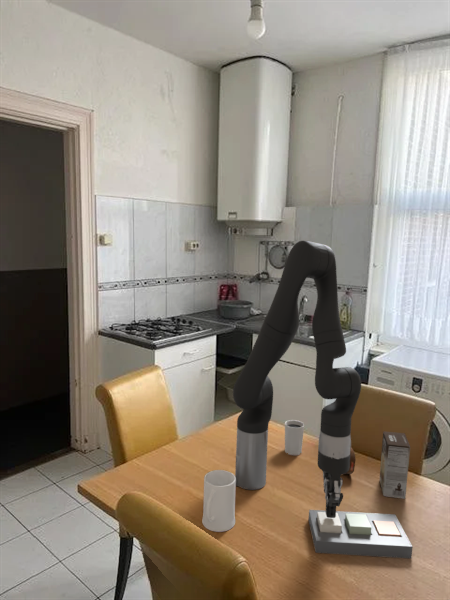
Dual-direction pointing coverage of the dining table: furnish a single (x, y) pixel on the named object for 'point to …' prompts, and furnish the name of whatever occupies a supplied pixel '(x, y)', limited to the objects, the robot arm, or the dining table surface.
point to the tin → (351, 462)
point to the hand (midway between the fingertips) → (330, 515)
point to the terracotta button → (386, 528)
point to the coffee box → (394, 464)
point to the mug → (219, 500)
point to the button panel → (360, 538)
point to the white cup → (293, 437)
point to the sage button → (357, 524)
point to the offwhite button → (328, 523)
